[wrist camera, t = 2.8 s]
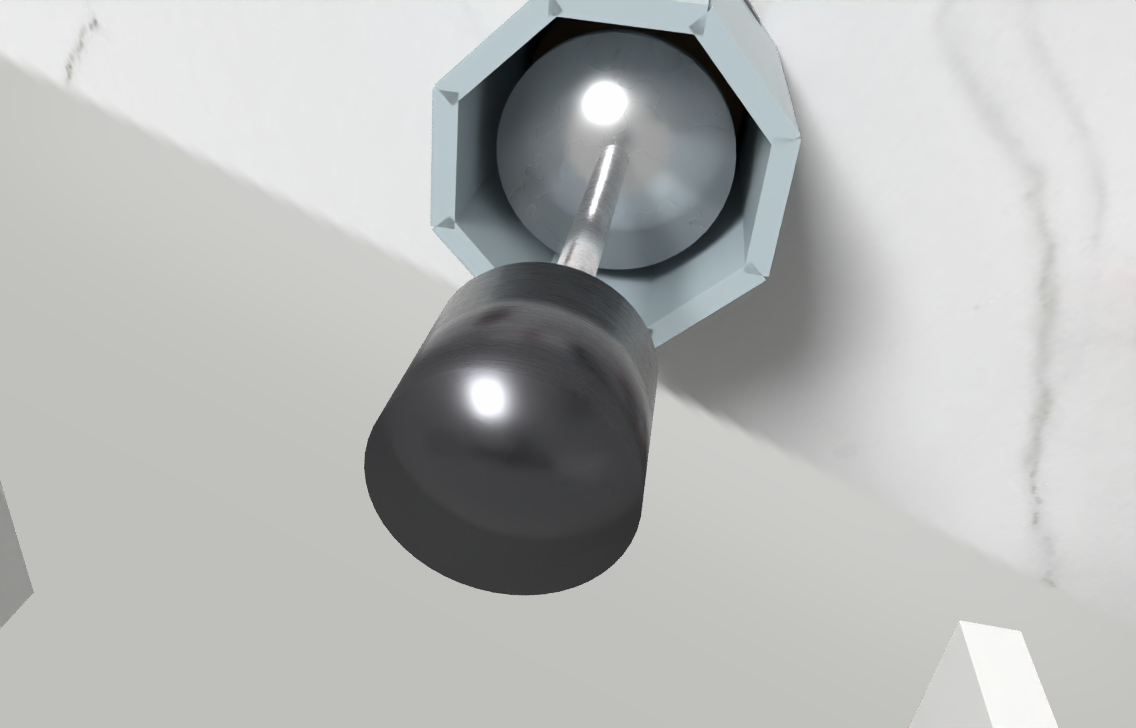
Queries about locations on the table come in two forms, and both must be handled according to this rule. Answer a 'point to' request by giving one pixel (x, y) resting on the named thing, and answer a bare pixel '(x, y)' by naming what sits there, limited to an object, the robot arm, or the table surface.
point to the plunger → (556, 326)
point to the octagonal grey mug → (762, 130)
